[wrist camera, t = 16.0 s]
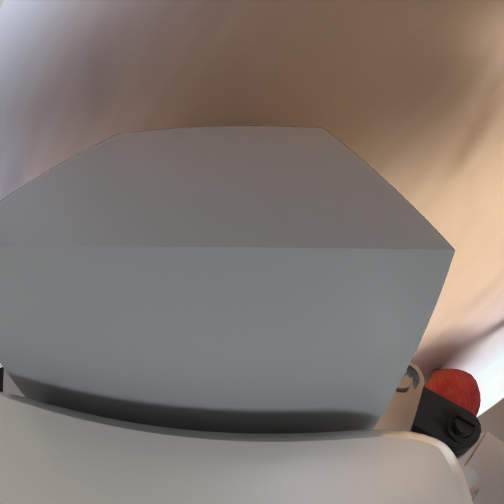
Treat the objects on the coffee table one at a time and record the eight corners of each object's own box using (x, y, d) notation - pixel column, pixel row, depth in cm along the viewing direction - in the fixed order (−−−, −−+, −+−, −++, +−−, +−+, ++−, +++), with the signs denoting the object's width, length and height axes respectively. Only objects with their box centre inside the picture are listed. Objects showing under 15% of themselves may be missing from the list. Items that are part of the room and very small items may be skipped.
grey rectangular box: (119, 133, 11) (-59, 246, 3) (323, 128, 11) (454, 250, 3) (159, 345, 17) (119, 493, 9) (301, 349, 16) (316, 508, 9)
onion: (468, 342, 23) (503, 412, 16) (456, 378, 25) (482, 442, 19) (412, 360, 24) (440, 439, 17) (405, 395, 26) (425, 464, 20)
